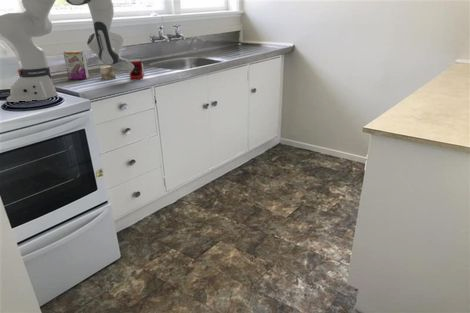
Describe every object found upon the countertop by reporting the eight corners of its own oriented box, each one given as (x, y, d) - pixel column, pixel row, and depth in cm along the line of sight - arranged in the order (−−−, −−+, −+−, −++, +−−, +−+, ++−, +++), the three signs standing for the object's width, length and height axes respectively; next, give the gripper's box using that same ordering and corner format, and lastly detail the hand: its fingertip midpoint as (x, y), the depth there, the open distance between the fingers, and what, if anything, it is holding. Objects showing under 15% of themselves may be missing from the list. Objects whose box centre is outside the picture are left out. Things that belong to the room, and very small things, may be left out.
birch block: (106, 79, 215) (104, 67, 213) (101, 78, 219) (99, 66, 216) (115, 77, 220) (113, 66, 217) (110, 76, 223) (108, 65, 220)
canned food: (138, 76, 221) (135, 58, 217) (146, 78, 216) (143, 59, 212) (127, 78, 216) (125, 60, 211) (135, 80, 211) (132, 61, 207)
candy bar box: (68, 79, 218) (62, 52, 211) (71, 78, 222) (66, 51, 216) (86, 79, 218) (81, 51, 211) (89, 77, 222) (84, 50, 216)
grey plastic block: (136, 76, 223) (134, 64, 220) (130, 75, 227) (129, 64, 224) (144, 74, 227) (142, 63, 225) (138, 73, 231) (137, 62, 228)
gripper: (125, 54, 195) (142, 69, 205) (106, 51, 207) (123, 66, 218) (119, 63, 193) (137, 78, 204) (100, 60, 206) (117, 74, 217)
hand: (129, 72), depth 211 cm, fingers closed, pressing on canned food
